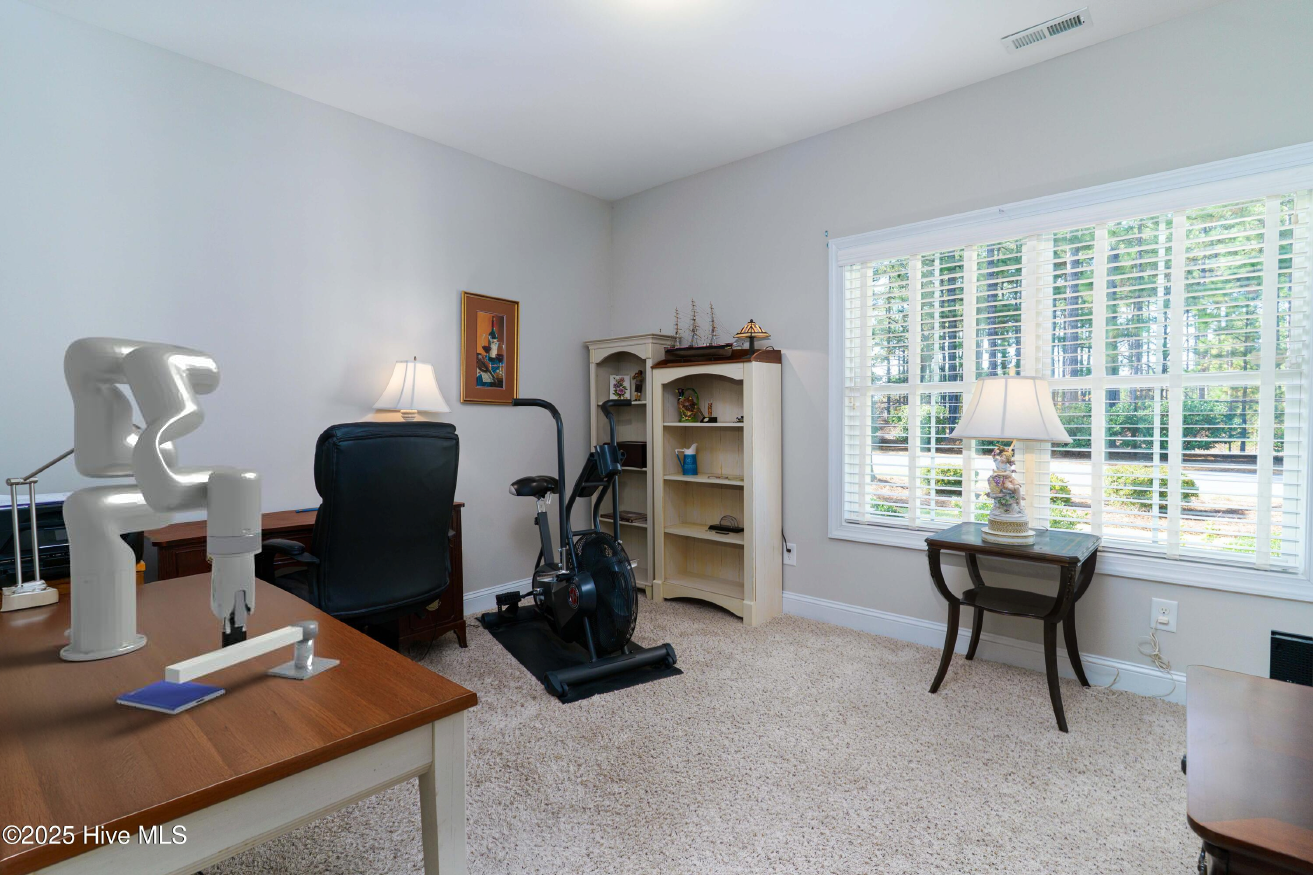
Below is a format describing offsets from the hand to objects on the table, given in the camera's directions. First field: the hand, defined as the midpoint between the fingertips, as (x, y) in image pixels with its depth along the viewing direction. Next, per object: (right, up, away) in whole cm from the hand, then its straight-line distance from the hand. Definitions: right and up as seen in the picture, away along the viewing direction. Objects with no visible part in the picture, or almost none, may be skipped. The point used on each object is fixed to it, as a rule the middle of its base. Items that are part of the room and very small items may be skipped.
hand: (234, 654), depth 107 cm
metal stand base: (+7, -5, +9) cm, 12 cm away
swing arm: (+3, 0, -1) cm, 4 cm away
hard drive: (-7, -6, -4) cm, 11 cm away
